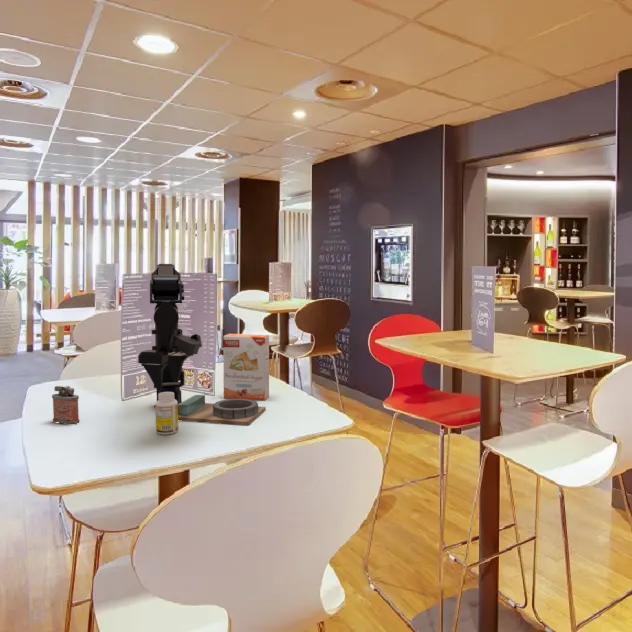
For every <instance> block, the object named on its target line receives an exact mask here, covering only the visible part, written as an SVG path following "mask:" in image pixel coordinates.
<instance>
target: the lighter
mask: <svg viewBox="0 0 632 632" xmlns="http://www.w3.org/2000/svg"><path fill="white" fill-rule="evenodd" d="M53 390H54V392H58V393H53V394H52V395H51V398H52V408H53V409H52V411H53V413H52V414H53V418H52V422H53V421H54V422H59V423H66V424H75V425H78V424H77V423H79V422H80V419H79V418H80V416H79V395H77V394H75V388H73V387H71V386H70V385H65V386H63V385H62V386H61V385H56V386H54V389H53ZM54 422H53V423H54ZM66 424H65V425H66ZM79 424H80V423H79Z"/></svg>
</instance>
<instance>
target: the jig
mask: <svg viewBox="0 0 632 632" xmlns="http://www.w3.org/2000/svg"><path fill="white" fill-rule="evenodd" d="M266 408H267V407H266V406H259V403H258V402H257V400H250V399H229V398H226V399H223V400H222V399H221V400H218V401H216V402H214V403H207V402H206V395H205V394H194V395H193V396H190V397H189V398H187V399H185V400H184V401H183V400H182V402H181V403H180V404H178V420H182V421H181V422H188V421H197V422H196V423H203V422H210V423H209V424H218V423H221V425H234V426H250V424H252V423H253V422H254V421H255V420H257V418H259V417H260V416H261V415H262V414H263V413H264V412H265V411H266V410H267V409H266Z"/></svg>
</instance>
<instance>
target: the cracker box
mask: <svg viewBox="0 0 632 632" xmlns="http://www.w3.org/2000/svg"><path fill="white" fill-rule="evenodd" d="M222 352H223V399H250V400H254V401H265V400H267V399H268V397H269V396H270V335H269V334H253V333H252V334H250V333H246V334H245V333H227V334H225V335H223V350H222Z"/></svg>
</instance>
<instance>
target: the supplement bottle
mask: <svg viewBox="0 0 632 632" xmlns="http://www.w3.org/2000/svg"><path fill="white" fill-rule="evenodd" d="M154 406H155V407H154V408H155V430H156V433H157V434H158V435H160V434H161V436H168V435H169V434H170V435H173V434H176V433H177V432H178V431H179V421H178V402H177V400H175V399H174V393H173V392H161V393H159V394H158V401H157V400H156V401H155V403H154Z"/></svg>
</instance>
